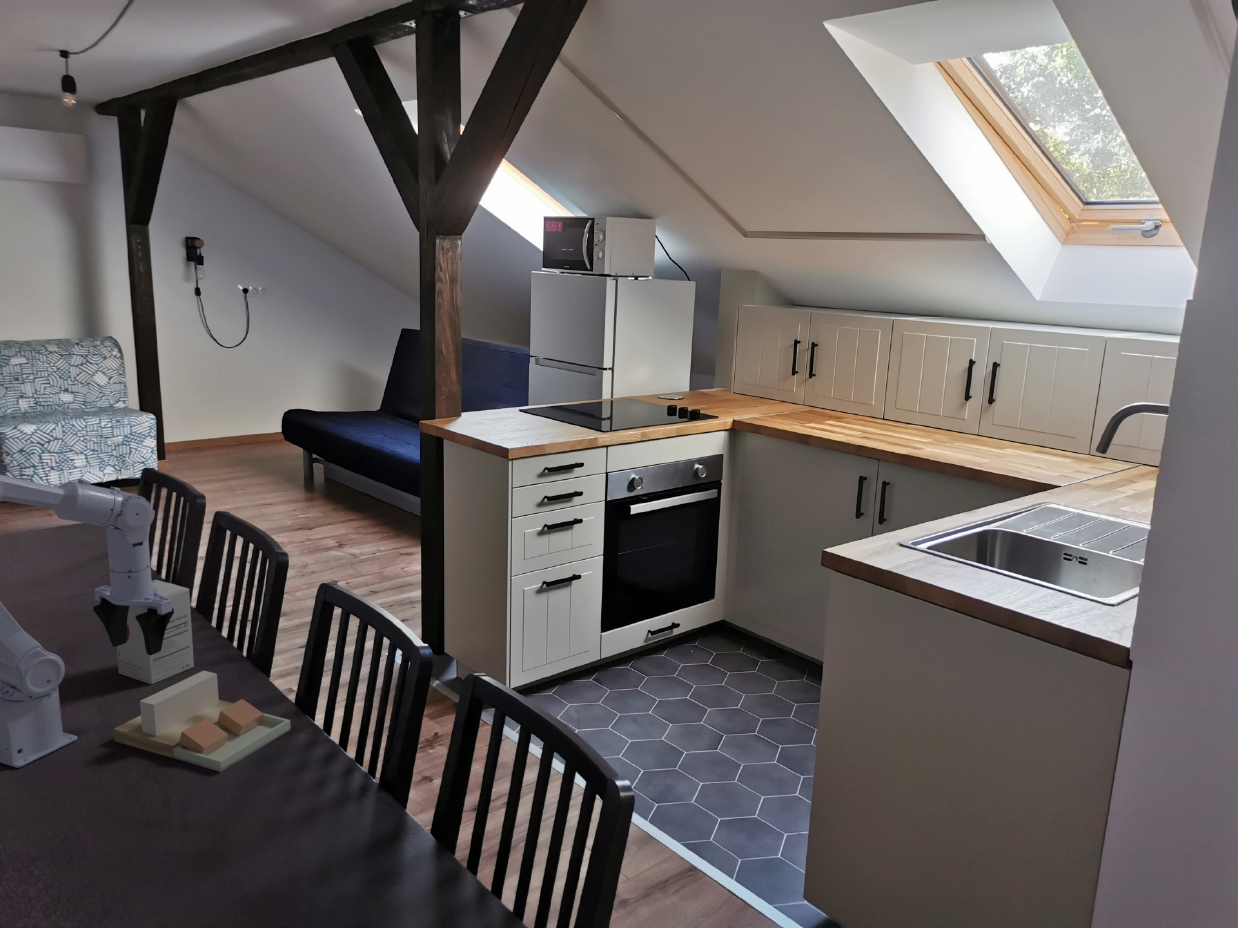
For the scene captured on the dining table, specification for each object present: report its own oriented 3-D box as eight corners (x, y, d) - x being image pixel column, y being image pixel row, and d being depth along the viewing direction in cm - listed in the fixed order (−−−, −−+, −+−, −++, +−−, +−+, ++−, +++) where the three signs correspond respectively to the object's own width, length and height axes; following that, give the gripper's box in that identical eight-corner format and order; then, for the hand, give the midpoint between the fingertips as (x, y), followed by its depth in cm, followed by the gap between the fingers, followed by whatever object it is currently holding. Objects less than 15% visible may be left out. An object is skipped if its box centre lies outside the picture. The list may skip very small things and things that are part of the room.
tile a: (201, 758, 136) (204, 747, 136) (178, 741, 138) (181, 731, 137) (225, 744, 140) (228, 734, 140) (203, 728, 142) (206, 718, 141)
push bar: (156, 735, 139) (153, 704, 138) (142, 731, 140) (139, 700, 139) (218, 702, 150) (216, 673, 149) (205, 699, 151) (203, 670, 150)
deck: (174, 758, 137) (173, 745, 137) (114, 740, 141) (113, 728, 141) (245, 717, 150) (245, 706, 149) (189, 703, 154) (188, 691, 154)
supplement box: (116, 674, 164) (109, 592, 161) (162, 656, 172) (156, 578, 169) (150, 685, 160) (144, 602, 157) (196, 667, 168) (190, 587, 165)
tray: (221, 771, 134) (220, 761, 133) (174, 758, 137) (173, 748, 137) (290, 729, 146) (290, 719, 146) (245, 717, 150) (245, 708, 149)
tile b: (239, 736, 143) (242, 726, 142) (217, 720, 144) (220, 710, 144) (260, 723, 147) (263, 713, 146) (239, 708, 148) (242, 698, 148)
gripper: (185, 566, 149) (190, 647, 152) (118, 554, 154) (125, 632, 157) (147, 579, 143) (154, 663, 145) (79, 566, 148) (87, 647, 151)
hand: (136, 648), depth 151 cm, fingers open, 7 cm apart
